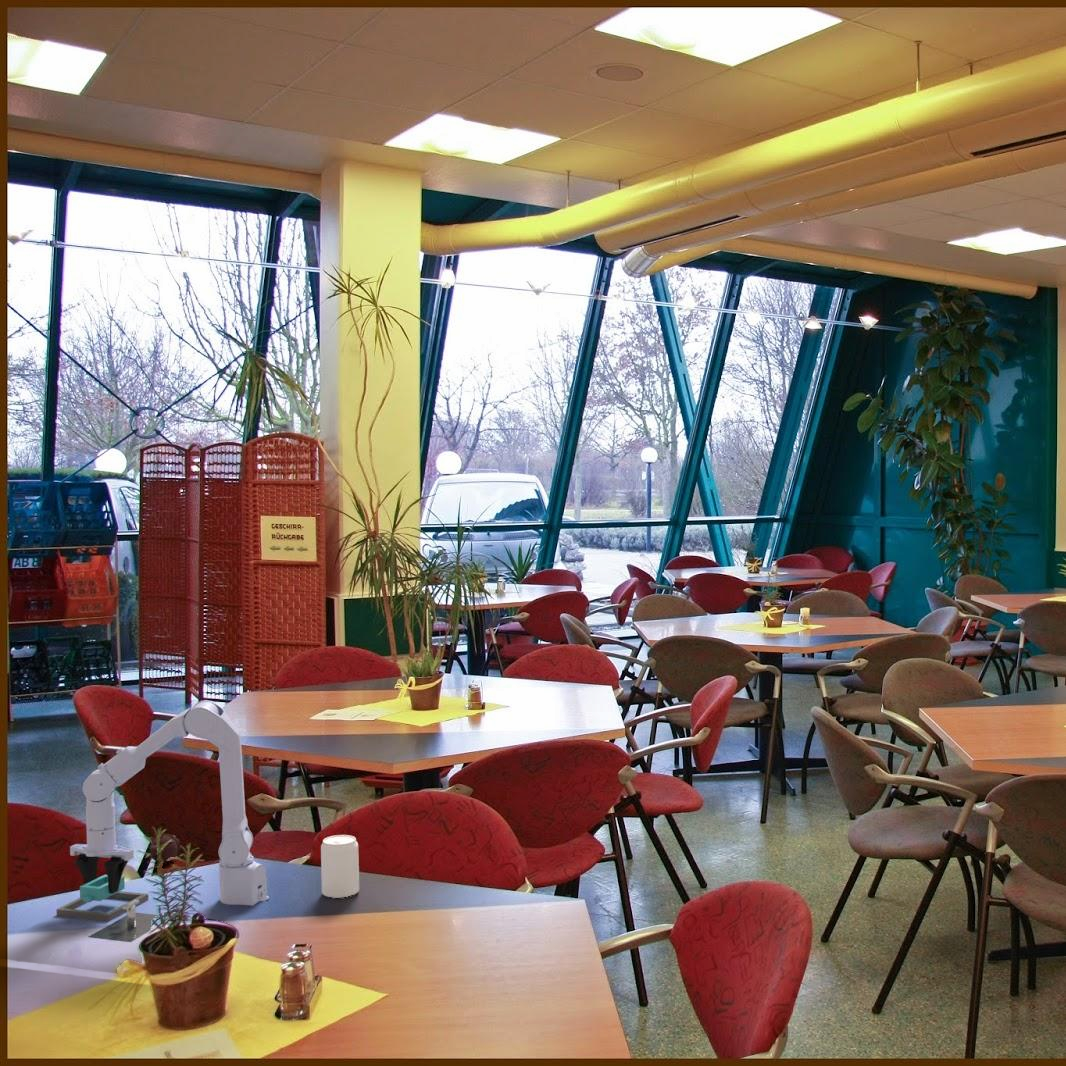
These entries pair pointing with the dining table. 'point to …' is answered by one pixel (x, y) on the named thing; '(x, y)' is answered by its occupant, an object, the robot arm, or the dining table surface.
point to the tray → (72, 912)
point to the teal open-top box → (98, 889)
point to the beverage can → (340, 866)
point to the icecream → (169, 851)
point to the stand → (127, 925)
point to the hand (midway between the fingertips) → (102, 890)
